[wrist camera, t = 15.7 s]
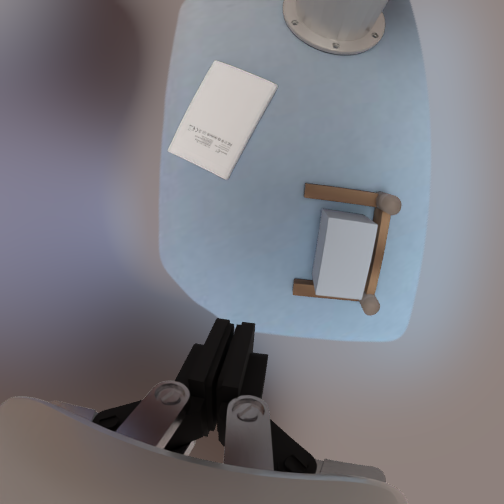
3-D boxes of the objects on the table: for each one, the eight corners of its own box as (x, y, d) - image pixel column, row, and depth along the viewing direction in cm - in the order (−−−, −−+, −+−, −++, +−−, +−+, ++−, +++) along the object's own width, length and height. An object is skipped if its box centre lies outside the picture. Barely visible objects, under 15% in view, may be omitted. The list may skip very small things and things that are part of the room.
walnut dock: (305, 180, 31) (307, 183, 26) (388, 192, 30) (402, 197, 25) (292, 291, 35) (292, 308, 30) (368, 298, 34) (377, 315, 29)
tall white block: (321, 208, 31) (328, 217, 26) (363, 214, 31) (378, 224, 25) (311, 273, 34) (315, 294, 28) (350, 278, 33) (361, 299, 28)
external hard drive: (278, 88, 28) (229, 179, 32) (217, 63, 28) (171, 151, 32) (277, 84, 27) (226, 180, 31) (214, 59, 27) (165, 150, 30)
